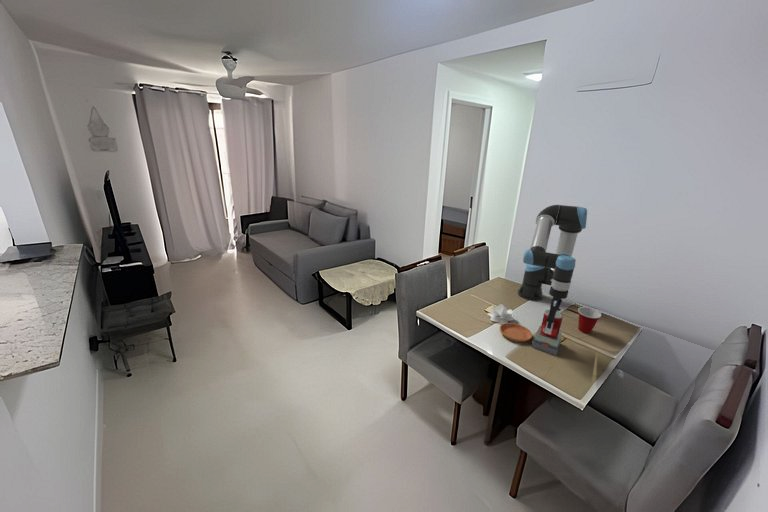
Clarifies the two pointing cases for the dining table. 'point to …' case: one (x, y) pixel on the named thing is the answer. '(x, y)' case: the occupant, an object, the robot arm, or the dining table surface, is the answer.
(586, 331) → the plastic cup
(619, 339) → the dining table surface
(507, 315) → the lotus flower
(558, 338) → the stand
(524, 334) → the saucer
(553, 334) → the canned food
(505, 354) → the dining table surface
